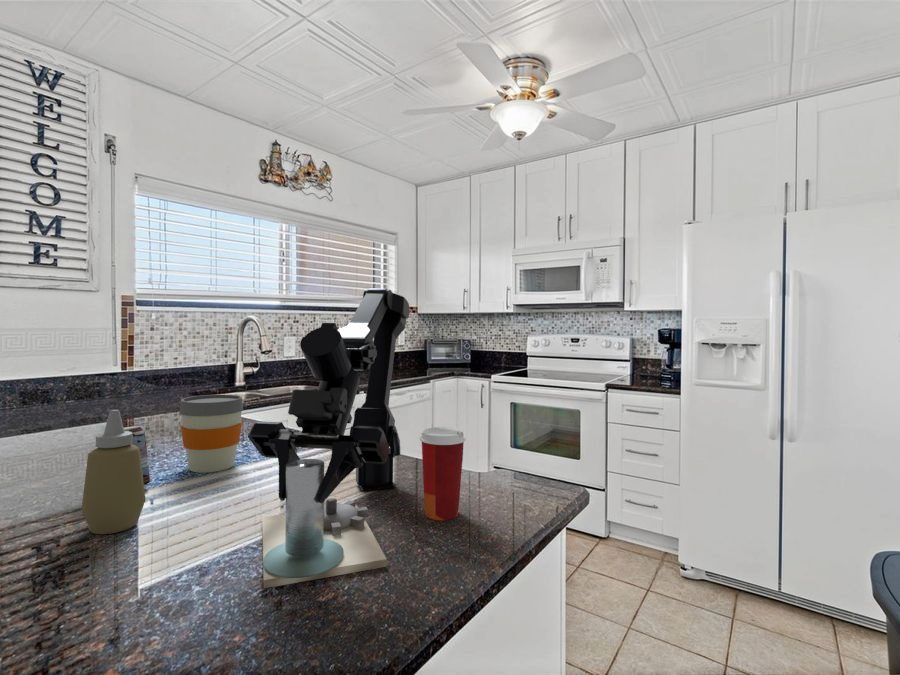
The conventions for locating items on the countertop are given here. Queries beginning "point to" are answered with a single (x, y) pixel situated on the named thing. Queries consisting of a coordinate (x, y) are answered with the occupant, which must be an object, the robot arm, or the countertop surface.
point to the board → (341, 554)
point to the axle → (304, 507)
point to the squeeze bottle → (113, 480)
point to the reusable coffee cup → (211, 431)
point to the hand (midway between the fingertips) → (300, 500)
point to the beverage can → (141, 450)
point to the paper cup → (442, 471)
